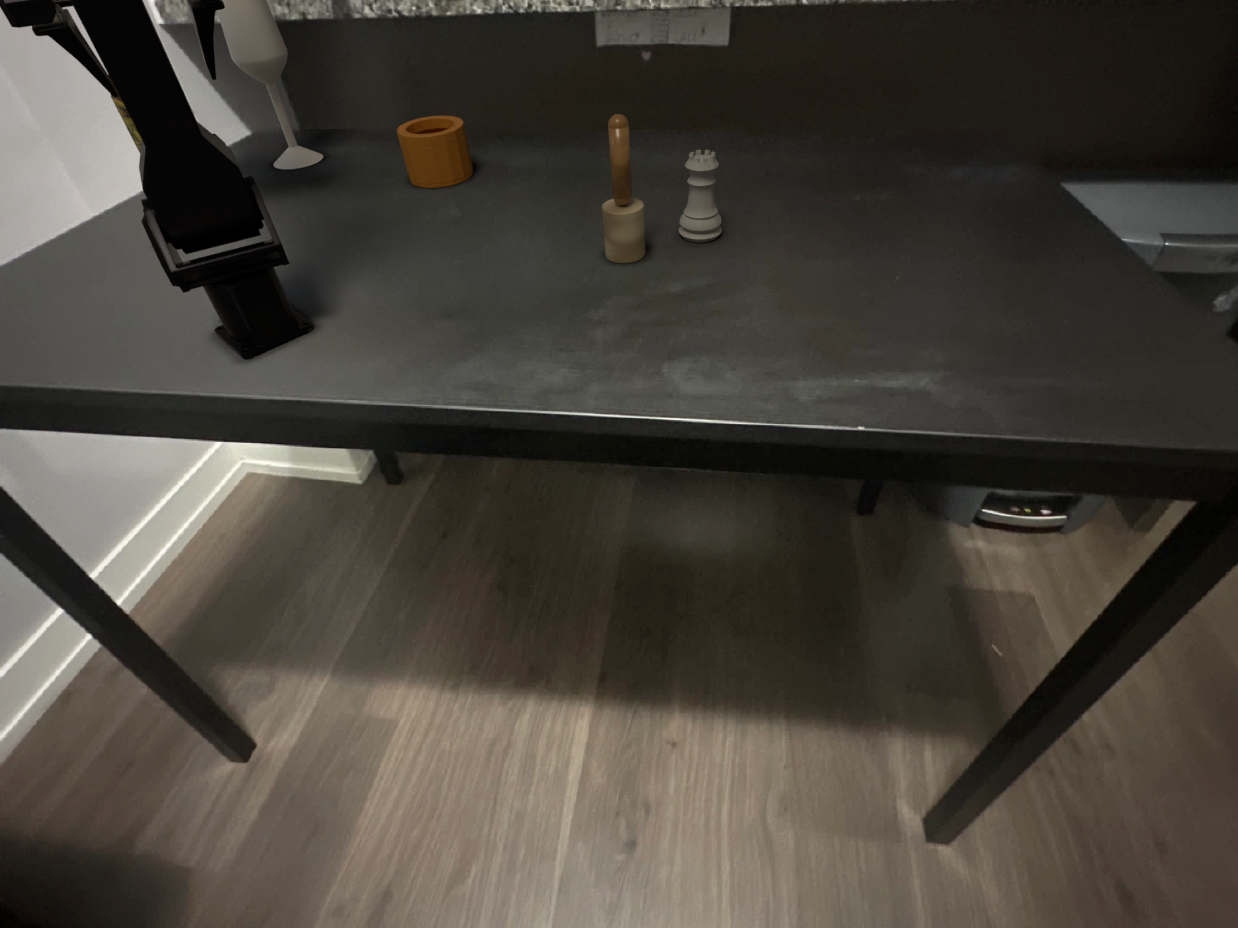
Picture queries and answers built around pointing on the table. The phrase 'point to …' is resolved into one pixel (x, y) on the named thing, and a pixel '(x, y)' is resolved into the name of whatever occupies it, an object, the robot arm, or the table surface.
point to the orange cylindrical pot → (435, 151)
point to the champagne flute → (263, 64)
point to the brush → (622, 201)
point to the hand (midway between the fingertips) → (166, 87)
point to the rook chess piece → (701, 200)
